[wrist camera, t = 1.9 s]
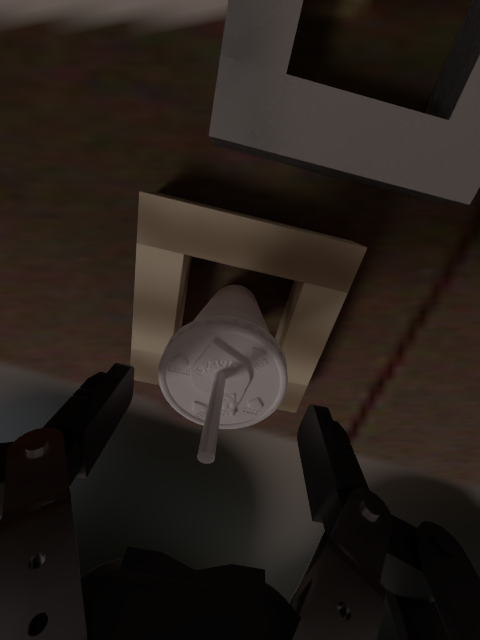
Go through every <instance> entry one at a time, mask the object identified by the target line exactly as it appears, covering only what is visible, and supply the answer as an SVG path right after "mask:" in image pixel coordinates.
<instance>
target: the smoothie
mask: <svg viewBox="0 0 480 640" xmlns="http://www.w3.org/2000/svg"><path fill="white" fill-rule="evenodd" d="M158 379H159V384H160V388H161V390H162V393H163V395H164V396H165V398H166V400H167V401H168V402H169V404H170V405H171V406H172V407H173V408H174V409H175V410H176V411H177V412H178V413H180V414H181V415H183V416H184V417H186V418H187V419H189V420H191V421H193V422H195V423H197V424H200V425H204V427H203V432H202V437H201V442H200V446H199V452H198V456H197V458H198V460H199V461H200V462H202V463H211V462H213V461H214V458H215V451H216V443H217V437H218V430H219V429H235V428H243V427H246V426H250V425H253V424H255V423H258V422H260V421H262V420H263V419H265V418H266V417H268V416H269V415H271V414H272V413H273V412H274V411H275V410H276V409H277V408H278V406H279V405H280V404H281V402H282V400H283V398H284V396H285V394H286V390H287V385H288V375H287V364H286V359H285V355H284V352H283V350H282V349H281V347H280V345H279V344H278V342H277V340H276V339H275V338H274V337H273V336H272V335H271V334H270V333H269V331H268V328H267V326H266V323H265V321H264V318H263V316H262V313H261V311H260V308H259V306H258V303H257V301H256V298H255V296H254V295H253V293H252V292H251V291H250V290H249V289H247V288H245V287H243V286H240V285H228V286H225V287H223V288H221V289H220V290H219V291H218V292H217V293H216V294H215V295H214V296H213V297H212V299H211V300H210V301H209V302H208V303H207V305H206V306H205V307H204V308H203V309H202V311H201V312H200V313H199V314H198V315H197V317H196V318H195V319H194V320H193V321H192V322H190V323H188V324H187V325H185V326H183V327H181V328H180V329H179V330H178V331H177V332H176V333H175V334H174V335H173V336H172V337H171V338H170V340H169V342H168V344H167V346H166V348H165V349H164V353H163V355H162V357H161V359H160V363H159V367H158Z"/></svg>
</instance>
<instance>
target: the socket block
mask: <svg viewBox="0 0 480 640" xmlns="http://www.w3.org/2000/svg"><path fill="white" fill-rule="evenodd" d="M366 250H367V247H364V246H362V245H360V244H358V243H355V242H353V241H351V240H347V239H343V238H339V237H335V236H331V235H327V234H323V233H319V232H315V231H311V230H307V229H303V228H299V227H295V226H291V225H287V224H283V223H279V222H275V221H271V220H267V219H263V218H259V217H255V216H251V215H247V214H243V213H239V212H235V211H231V210H227V209H223V208H219V207H215V206H211V205H207V204H203V203H199V202H195V201H191V200H187V199H182V198H178V197H174V196H170V195H166V194H162V193H158V192H143V191H139V210H138V229H137V249H136V268H135V288H134V307H133V327H132V347H131V366H133V367H134V380H137V381H142V382H147V383H152V384H156V385H160V384H159V379H158V367H159V363H160V359H161V357H162V355H163V353H164V349H165V348H166V346H167V344H168V342H169V340H170V338H171V337H172V336H173V335H174V334H175V333H176V332H177V331H178V330H179V329H180V328H181V327H182V321H183V314H184V307H185V300H186V294H187V287H188V280H189V273H190V266H191V259H192V256H193V257H197V258H202V259H206V260H210V261H214V262H219V263H223V264H227V265H231V266H236V267H240V268H244V269H248V270H253V271H257V272H261V273H265V274H270V275H274V276H278V277H282V278H287V279H291V280H294V282H293V285H292V288H291V291H290V294H289V297H288V300H287V303H286V306H285V309H284V312H283V315H282V318H281V321H280V324H279V327H278V330H277V333H276V336H275V339H276V340H277V342H278V344H279V345H280V347H281V349H282V350H283V352H284V355H285V359H286V364H287V375H288V385H287V390H286V394H285V396H284V398H283V400H282V402H281V404H280V405H279V406H278V408H277V409H279V410H284V411H289V412H293V413H296V411H297V409H298V406H299V404H300V402H301V400H302V397H303V395H304V393H305V390H306V388H307V386H308V383H309V381H310V379H311V377H312V374H313V372H314V370H315V367H316V365H317V363H318V360H319V358H320V356H321V354H322V351H323V349H324V347H325V344H326V342H327V340H328V337H329V335H330V333H331V331H332V328H333V326H334V324H335V321H336V319H337V317H338V314H339V312H340V310H341V308H342V305H343V303H344V301H345V298H346V296H347V294H348V291H349V289H350V287H351V285H352V282H353V280H354V278H355V275H356V273H357V271H358V268H359V266H360V264H361V262H362V259H363V257H364V255H365V252H366Z"/></svg>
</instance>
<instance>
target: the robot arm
mask: <svg viewBox="0 0 480 640" xmlns="http://www.w3.org/2000/svg"><path fill="white" fill-rule="evenodd" d="M133 385H134V367H133V366H129V365H124V364H120V363H115V364H114V365H113V366H112V367H111V369H110V370H109V371H108V372H107V373H103V372H99V373H97V374H95V375H93V376H92V377H90V378H88V379H87V380H86V381H85V382H84V383H83V384H82V385H81V387H80V388H79V389H78V390H77V391H76V392H75V393H74V394H73V396H72V397H71V398H70V399H69V400H68V401H67V402H66V403H65V404H64V405H63V406H62V407H61V409H59V411H58V412H57V413H56V414H55V415H54V416H53V417H52V418H51V419H50V420H49V422H48V423H47V424H46V425H45V426H44V427H43V428H39V429H35V430H32V431H29V432H27V433H25V434H23V435H22V436H20V437H19V438H17V440H15V441H14V442H8V443H0V516H2V519H1V520H0V640H377V634H378V630H379V625H380V620H381V615H382V610H383V604H384V599H385V595H386V598H387V602H388V605H389V608H390V612H391V615H392V618H393V622H394V625H395V628H396V632H397V635H398V638H399V640H450V639H451V640H480V578H479V576H478V575H477V573H476V571H475V569H474V568H473V566H472V564H471V562H470V560H469V559H468V557H467V555H466V553H465V552H464V550H463V548H462V547H461V545H460V544H459V543H458V542H457V540H456V539H455V538H454V537H453V536H452V535H451V534H450V533H449V532H448V531H446V530H445V529H444V528H442V527H441V526H439V525H437V524H435V523H433V522H428V521H426V522H425V521H424V522H422V523H421V524H420V525H419V526H418V527H417V528H416V527H414V526H412V525H410V524H408V523H406V522H405V521H403V520H401V519H399V518H397V517H395V516H393V515H392V514H391V513H390V511H389V509H388V507H387V506H386V505H385V503H384V502H383V501H382V500H381V499H380V498H379V497H378V496H377V495H376V494H375V493H373V492H372V491H370V490H369V488H368V485H367V483H366V480H365V478H364V476H363V473H362V471H361V468H360V466H359V463H358V461H357V458H356V456H355V454H354V451H353V448H352V446H351V445H350V441H349V438H348V436H347V434H346V432H345V430H344V429H343V428H342V427H341V425H340V424H339V423H338V422H337V421H333V419H332V417H331V414H330V411H329V409H328V408H327V407H322V406H317V405H312V404H311V405H309V407H308V409H307V411H306V413H305V415H304V418H303V420H302V422H301V424H300V426H299V429H298V435H297V441H298V447H299V452H300V458H301V463H302V468H303V474H304V479H305V484H306V489H307V495H308V500H309V505H310V511H311V516H312V521H315V522H321V523H323V525H324V529H325V532H324V533H323V535H322V537H321V539H320V541H319V543H318V545H317V548H316V550H315V552H314V554H313V556H312V558H311V561H310V563H309V565H308V567H307V569H306V571H305V574H304V576H303V578H302V580H301V582H300V584H299V586H298V588H297V590H296V591H295V593H294V595H293V597H292V599H291V600H290V602H289V603H288V601H287V600H286V599H285V598H284V597H283V596H282V595H281V594H280V593H279V592H278V591H277V590H275V589H274V588H273V587H271V586H270V585H268V584H267V583H265V570H263V569H257V568H252V567H245V566H239V565H234V564H230V565H225V566H219V567H213V568H208V569H202V570H194V569H192V568H190V567H188V566H186V565H184V564H182V563H181V562H179V561H177V560H175V559H173V558H172V557H170V556H168V555H166V554H164V553H162V552H157V551H151V550H145V549H139V548H134V547H127V550H126V553H125V555H124V558H122V559H117V560H113V561H110V562H107V563H105V564H103V565H100V566H98V567H96V568H94V569H93V570H91V571H89V572H88V573H86V574H85V575H84V576H82V577H81V578H80V571H79V561H78V553H77V544H76V536H75V528H74V518H73V511H72V501H71V494H70V488H69V487H70V485H71V484H72V482H73V480H74V479H75V477H80V478H87V476H88V474H89V473H90V471H91V469H92V468H93V466H94V464H95V463H96V461H97V459H98V458H99V456H100V454H101V452H102V451H103V449H104V448H105V446H106V444H107V443H108V441H109V439H110V437H111V436H112V434H113V432H114V431H115V429H116V427H117V426H118V424H119V422H120V421H121V419H122V417H123V416H124V414H125V412H126V411H127V409H128V407H129V405H130V403H131V400H132V396H133ZM434 600H435V603H436V605H437V607H438V610H439V612H440V615H441V617H442V619H443V622H444V624H445V626H446V629H447V631H448V634H449V636H450V639H449V637H448V634H447V632H446V630H445V627H444V625H443V622H442V620H441V617H440V615H439V613H438V611H437V608H436V605H435V603H434Z"/></svg>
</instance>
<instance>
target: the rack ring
mask: <svg viewBox="0 0 480 640" xmlns="http://www.w3.org/2000/svg"><path fill="white" fill-rule="evenodd" d="M302 4H303V0H228V7H227V14H226V21H225V28H224V35H223V42H222V49H221V55H220V62H219V69H218V76H217V83H216V90H215V97H214V104H213V111H212V118H211V125H210V132H209V137H210V138H211V139H212V141H213V142H214V144H215V145H216V146H219V147H223V148H227V149H230V150H234V151H238V152H242V153H246V154H249V155H253V156H257V157H261V158H265V159H268V160H272V161H276V162H280V163H284V164H287V165H291V166H295V167H299V168H303V169H306V170H310V171H314V172H318V173H322V174H325V175H329V176H333V177H337V178H341V179H344V180H348V181H352V182H356V183H360V184H363V185H367V186H371V187H375V188H379V189H382V190H386V191H390V192H394V193H398V194H401V195H405V196H409V197H413V198H417V199H420V200H424V201H428V202H432V203H436V204H461V205H470V203H471V201H472V200H473V198H474V196H475V194H476V193H477V191H478V189H479V187H480V0H472V3H471V5H470V7H469V10H468V12H467V14H466V17H465V19H464V21H463V24H462V26H461V28H460V31H459V33H458V35H457V37H456V40H455V42H454V44H453V47H452V49H451V51H450V54H449V56H448V58H447V61H446V63H445V65H444V68H443V70H442V72H441V75H440V77H439V79H438V81H437V84H436V86H435V88H434V91H433V93H432V95H431V98H430V100H429V102H428V105H427V107H426V109H425V112H424V113H422V112H418V111H414V110H411V109H407V108H404V107H400V106H397V105H393V104H390V103H386V102H383V101H379V100H376V99H372V98H369V97H365V96H362V95H358V94H355V93H351V92H348V91H344V90H341V89H337V88H334V87H330V86H327V85H323V84H320V83H316V82H313V81H309V80H305V79H302V78H298V77H295V76H291V75H288V74H286V73H287V69H288V64H289V60H290V56H291V51H292V47H293V43H294V38H295V34H296V30H297V26H298V21H299V17H300V13H301V8H302Z"/></svg>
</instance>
